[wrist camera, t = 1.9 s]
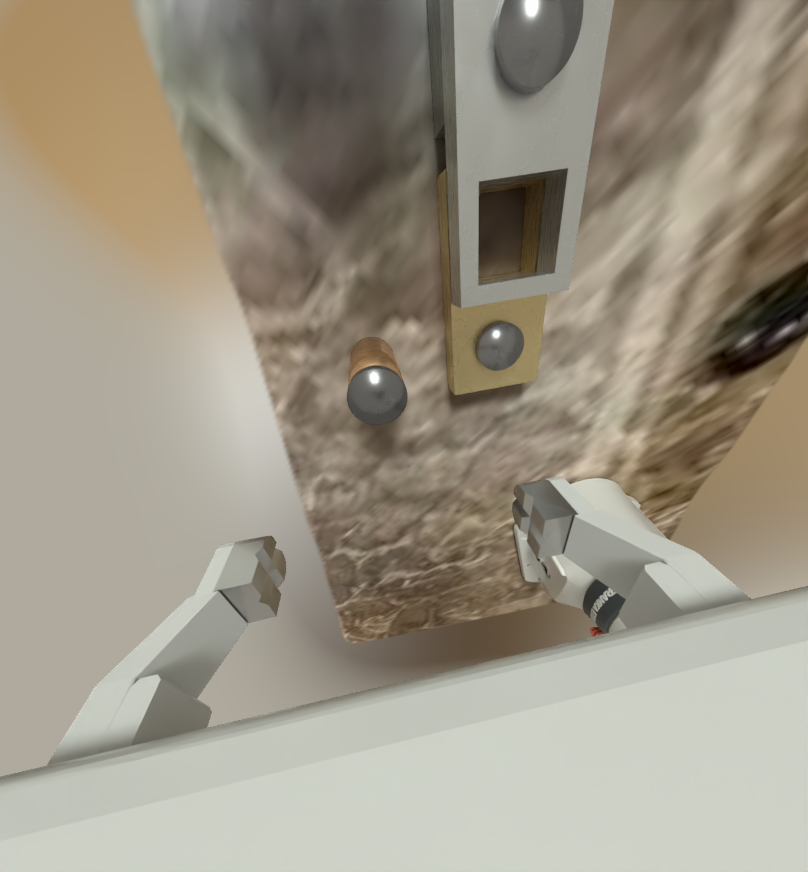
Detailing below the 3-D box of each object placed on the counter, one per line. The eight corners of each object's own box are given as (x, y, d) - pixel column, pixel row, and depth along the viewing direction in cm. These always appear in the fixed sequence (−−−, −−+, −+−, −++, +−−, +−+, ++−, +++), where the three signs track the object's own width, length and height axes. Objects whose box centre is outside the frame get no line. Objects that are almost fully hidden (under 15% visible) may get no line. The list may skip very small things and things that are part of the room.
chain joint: (524, 372, 29) (558, 395, 24) (448, 386, 29) (466, 411, 24) (561, -25, 16) (650, -151, 11) (426, -8, 16) (456, -130, 11)
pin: (396, 375, 28) (410, 419, 20) (356, 383, 27) (354, 429, 20) (390, 333, 25) (403, 363, 18) (346, 341, 25) (340, 375, 18)
